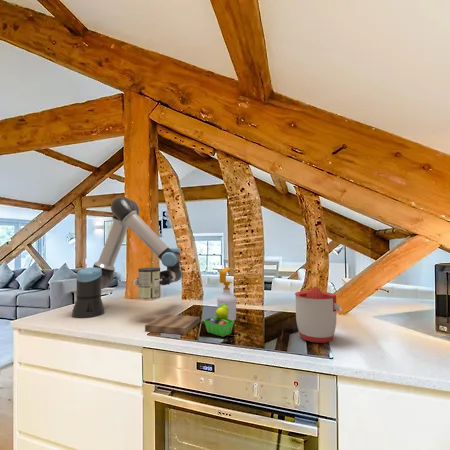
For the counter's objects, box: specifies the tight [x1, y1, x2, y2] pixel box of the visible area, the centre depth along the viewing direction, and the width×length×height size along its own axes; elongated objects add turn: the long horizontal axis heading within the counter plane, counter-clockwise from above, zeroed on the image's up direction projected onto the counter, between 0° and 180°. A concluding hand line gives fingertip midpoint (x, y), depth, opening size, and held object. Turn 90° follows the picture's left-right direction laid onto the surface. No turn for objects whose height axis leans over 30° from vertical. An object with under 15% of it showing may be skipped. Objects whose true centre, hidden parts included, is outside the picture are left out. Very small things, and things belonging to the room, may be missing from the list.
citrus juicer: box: [294, 286, 343, 344], centre depth 110 cm, size 16×17×20 cm
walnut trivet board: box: [144, 314, 201, 335], centre depth 125 cm, size 18×18×2 cm
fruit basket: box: [203, 304, 235, 337], centre depth 117 cm, size 11×9×11 cm
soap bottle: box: [216, 267, 237, 322], centre depth 137 cm, size 9×9×25 cm
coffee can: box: [137, 267, 161, 301], centre depth 135 cm, size 10×10×14 cm
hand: (144, 283), depth 131 cm, fingers closed on coffee can, 10 cm apart
